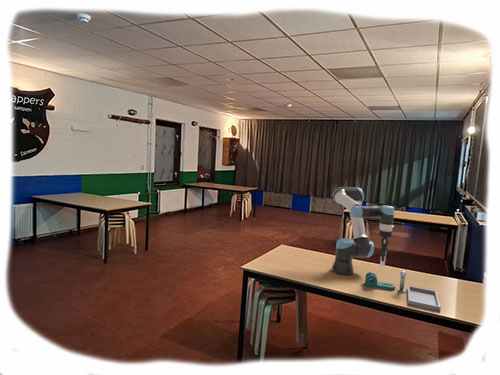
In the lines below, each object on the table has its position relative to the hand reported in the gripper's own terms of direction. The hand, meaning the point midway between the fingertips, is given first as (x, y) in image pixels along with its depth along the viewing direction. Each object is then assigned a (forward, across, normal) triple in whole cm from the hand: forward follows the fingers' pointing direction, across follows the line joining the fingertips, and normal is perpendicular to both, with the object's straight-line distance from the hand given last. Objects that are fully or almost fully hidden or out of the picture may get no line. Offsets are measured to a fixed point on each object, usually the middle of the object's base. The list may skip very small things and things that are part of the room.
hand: (382, 262), depth 209 cm
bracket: (+16, 0, 0) cm, 16 cm away
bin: (+16, -7, -24) cm, 30 cm away
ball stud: (+16, 0, -12) cm, 20 cm away
